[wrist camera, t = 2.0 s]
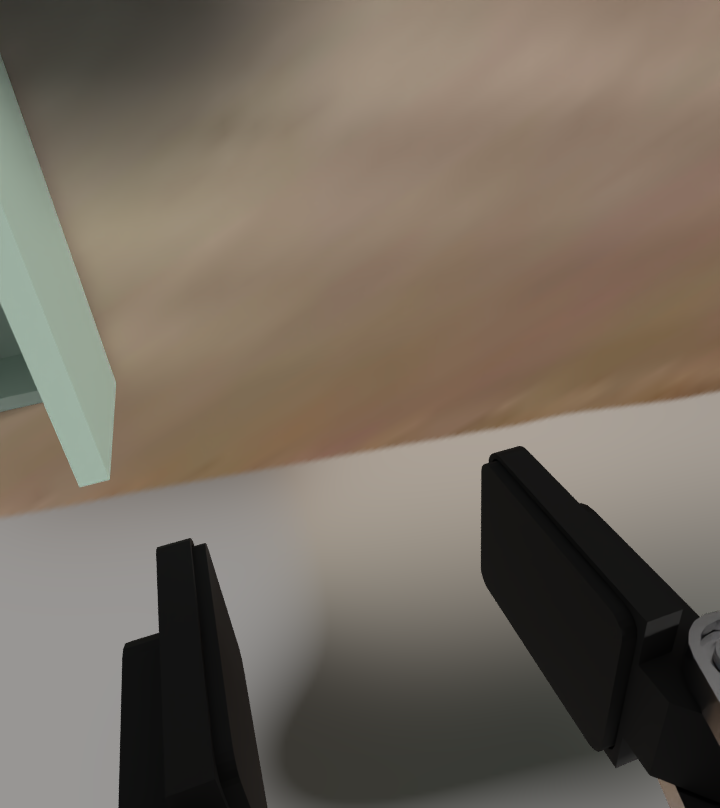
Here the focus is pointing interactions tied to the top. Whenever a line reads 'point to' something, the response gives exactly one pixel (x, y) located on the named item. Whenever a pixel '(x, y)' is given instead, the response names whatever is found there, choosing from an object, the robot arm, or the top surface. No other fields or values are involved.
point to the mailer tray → (47, 311)
